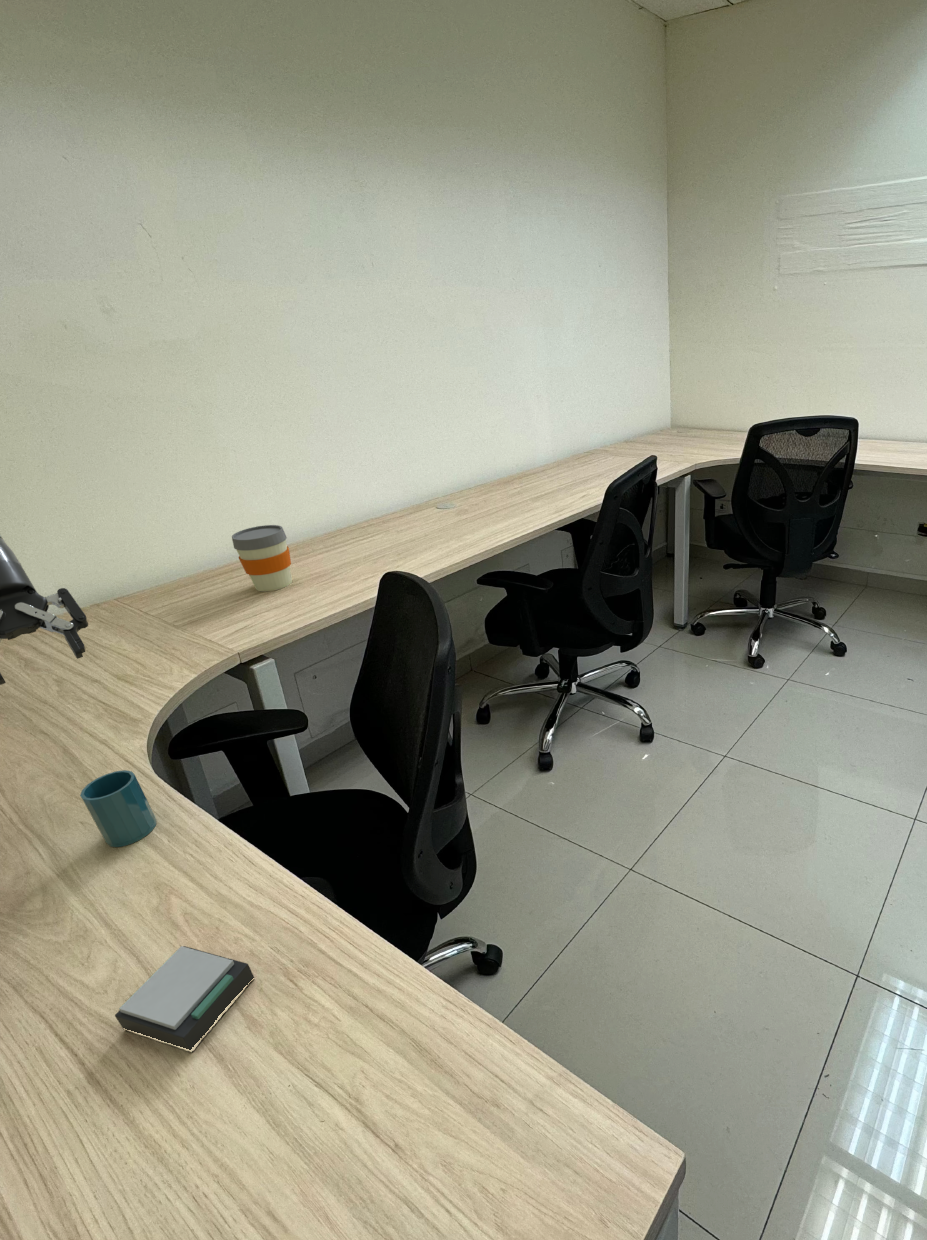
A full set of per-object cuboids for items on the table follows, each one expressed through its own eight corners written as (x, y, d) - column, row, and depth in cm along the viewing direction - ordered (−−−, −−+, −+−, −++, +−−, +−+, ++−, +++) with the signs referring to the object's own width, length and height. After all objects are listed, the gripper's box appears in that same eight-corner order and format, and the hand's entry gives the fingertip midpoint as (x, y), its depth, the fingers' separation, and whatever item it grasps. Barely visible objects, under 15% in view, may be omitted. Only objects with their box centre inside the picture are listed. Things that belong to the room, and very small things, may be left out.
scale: (123, 1030, 66) (111, 1011, 64) (191, 960, 73) (181, 941, 71) (192, 1053, 63) (180, 1034, 62) (255, 978, 70) (246, 959, 69)
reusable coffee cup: (237, 592, 171) (218, 538, 165) (274, 574, 182) (258, 523, 176) (274, 596, 168) (256, 541, 161) (309, 577, 178) (294, 525, 172)
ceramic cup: (95, 843, 90) (69, 796, 86) (135, 813, 95) (112, 767, 91) (127, 850, 88) (102, 803, 85) (166, 819, 94) (144, 773, 90)
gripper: (-92, 578, 83) (-34, 680, 81) (46, 545, 93) (101, 636, 91) (-75, 605, 89) (-20, 702, 87) (54, 571, 98) (106, 658, 96)
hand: (42, 668), depth 89 cm, fingers open, 8 cm apart
